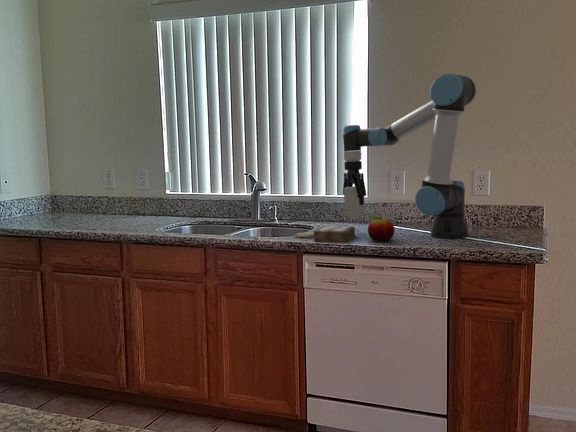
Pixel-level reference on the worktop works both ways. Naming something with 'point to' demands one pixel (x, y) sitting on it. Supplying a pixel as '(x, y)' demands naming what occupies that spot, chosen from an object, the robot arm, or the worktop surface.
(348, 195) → the supplement box
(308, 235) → the cork coaster
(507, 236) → the worktop surface
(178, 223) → the worktop surface
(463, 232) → the robot arm
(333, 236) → the stand
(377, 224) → the fruit
